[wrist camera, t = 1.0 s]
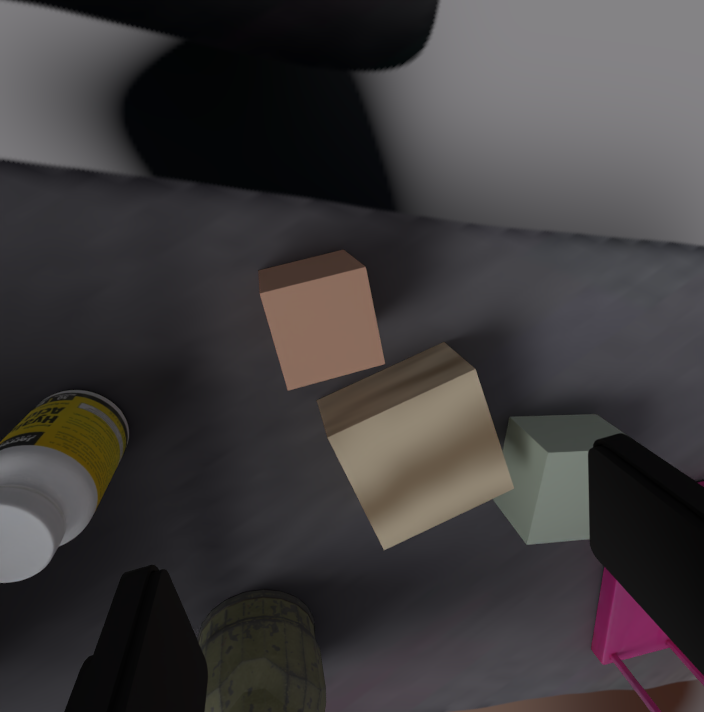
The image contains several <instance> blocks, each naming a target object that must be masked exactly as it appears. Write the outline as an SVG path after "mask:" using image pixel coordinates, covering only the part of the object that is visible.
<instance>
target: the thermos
mask: <svg viewBox="0 0 704 712" xmlns="http://www.w3.org/2000/svg"><path fill="white" fill-rule="evenodd" d="M198 643H199V645H200V647H201V650H202V652H203V654H204V656H205V659H206V662H207V668H208V684H207V694H206V703H205V712H325V707H326V687H325V680H324V673H323V666H322V659H321V652H320V648H319V646H318V644H317V642H316V640H315V626H314V618H313V616H312V614H311V613H310V611H309V609H308V607H307V606H306V605H305V604H304V603H303V602H301V601H300V600H299V599H298V598H297V597H294V596H292V595H289V594H287V593H284V592H281V591H272V590H258V591H251V592H244V593H242V594H239V595H237V596H234V597H232V598H229V599H227V600H225V601H224V602H223V603H221V604H220V605H218V606H217V607H216V608H214V609H213V610H212V611H211V612H210V613H209V615H208V616H207V617H206V619H205V620H204V622H203V623H202V625H201V629H200V632H199V636H198Z"/></svg>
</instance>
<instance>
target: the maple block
mask: <svg viewBox="0 0 704 712" xmlns="http://www.w3.org/2000/svg"><path fill="white" fill-rule="evenodd" d="M317 403H318V407H319V410H320V413H321V417H322V420H323V424H324V427H325V431H326V434H327V438H328V439H329V441H330V443H331V445H332V447H333V449H334V451H335V453H336V455H337V457H338V459H339V461H340V463H341V465H342V467H343V469H344V471H345V473H346V475H347V477H348V479H349V481H350V483H351V485H352V487H353V489H354V491H355V493H356V495H357V497H358V499H359V501H360V503H361V505H362V507H363V509H364V511H365V513H366V515H367V517H368V519H369V521H370V523H371V525H372V527H373V529H374V531H375V533H376V535H377V537H378V539H379V541H380V543H381V545H382V547H383V549H384V550H386V549H388V548H390V547H392V546H394V545H396V544H398V543H401V542H403V541H405V540H407V539H409V538H411V537H413V536H415V535H417V534H420V533H422V532H424V531H426V530H428V529H430V528H432V527H434V526H436V525H439V524H441V523H443V522H445V521H447V520H449V519H451V518H453V517H455V516H458V515H460V514H462V513H464V512H466V511H468V510H470V509H472V508H474V507H476V506H479V505H481V504H483V503H485V502H487V501H489V500H491V499H493V498H495V497H498V496H500V495H502V494H504V493H506V492H508V491H510V490H512V489H514V486H513V483H512V480H511V477H510V474H509V471H508V467H507V464H506V461H505V458H504V455H503V452H502V449H501V446H500V443H499V440H498V437H497V434H496V430H495V427H494V424H493V421H492V418H491V415H490V412H489V409H488V406H487V403H486V400H485V397H484V393H483V390H482V387H481V384H480V381H479V378H478V375H477V372H476V369H475V368H474V367H473V366H472V365H470V364H469V363H468V362H467V361H466V360H464V359H463V358H462V357H461V356H460V355H459V354H457V353H456V352H455V351H454V350H453V349H452V348H450V347H449V346H448V345H447V344H446V343H445V342H443V343H441V344H439V345H436V346H434V347H432V348H430V349H428V350H425V351H423V352H421V353H419V354H417V355H415V356H412V357H410V358H408V359H406V360H404V361H401V362H399V363H397V364H395V365H393V366H391V367H388V368H386V369H384V370H382V371H380V372H378V373H375V374H373V375H371V376H369V377H367V378H364V379H362V380H360V381H358V382H356V383H354V384H351V385H349V386H347V387H345V388H343V389H340V390H338V391H336V392H334V393H332V394H330V395H327V396H325V397H323V398H321V399H319V400H317Z"/></svg>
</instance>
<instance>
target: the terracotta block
mask: <svg viewBox="0 0 704 712" xmlns="http://www.w3.org/2000/svg"><path fill="white" fill-rule="evenodd" d="M258 271H259V289H260V296H261V299H262V303H263V306H264V310H265V313H266V317H267V320H268V324H269V327H270V330H271V334H272V337H273V341H274V344H275V348H276V351H277V355H278V358H279V362H280V365H281V368H282V372H283V375H284V379H285V382H286V386H287V389H288V390H292V389H296V388H299V387H303V386H307V385H310V384H314V383H318V382H321V381H325V380H329V379H332V378H336V377H340V376H343V375H347V374H351V373H354V372H358V371H361V370H365V369H369V368H372V367H376V366H380V365H383V364H385V361H384V356H383V351H382V346H381V341H380V336H379V331H378V326H377V321H376V316H375V311H374V306H373V301H372V296H371V291H370V286H369V281H368V275H367V270H366V267H365V266H364V265H363V264H361V263H360V262H359V261H358V260H356V259H355V258H354V257H352V256H351V255H350V254H349V253H347V252H346V251H345V250H340V251H335V252H331V253H327V254H323V255H319V256H315V257H311V258H307V259H303V260H299V261H295V262H291V263H287V264H283V265H279V266H275V267H270V268H266V269H262V270H258Z"/></svg>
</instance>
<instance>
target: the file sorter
mask: <svg viewBox="0 0 704 712" xmlns="http://www.w3.org/2000/svg"><path fill="white" fill-rule="evenodd" d="M697 483H699V484H700V485H702V486H703V487H704V481H702V482H697ZM669 647H670V648H671V649H672V651H673V652H674V653H675V654H676V655H677V656H678V657H679V659H680V660H681V661H682V662H683V663H684V664H685V665H686V666H687V668H688V669H689V670H690V671H691V672H692V673H693V674H694V675H695V677H696V678H697V679H698V680H699V681H700V682H701V683H702V684H703V685H704V676H703V675H702V673H701V672H700V671H699V670H698V669H697V668H696V667H695V666H694V665H693V664H692V663H691V661H690V660H689V659H688V658H687V657H686V656H685V655H684V654H683V653H682V652H681V650H680V649H679V648H678V647H677V646H676V645H675V644H674V643H673V642H672V641H671V639H670V638H669V637H668V636H667V635H666V634H665V633H664V632H663V631H662V630H661V628H660V627H659V626H658V625H657V624H656V623H655V622H654V621H653V620H652V619H651V617H650V616H649V615H648V614H647V613H646V612H645V611H644V610H643V609H642V608H641V606H640V605H639V604H638V603H637V602H636V601H635V600H634V599H633V598H632V597H631V595H630V594H629V593H628V592H627V591H626V590H625V589H624V588H623V587H622V586H621V585H620V583H619V582H618V581H617V580H616V579H615V578H614V577H613V576H612V575H611V574H610V572H609V571H608V570H607V569H606V568H605V567H604V572H603V578H602V584H601V590H600V596H599V602H598V608H597V615H596V622H595V627H594V634H593V640H592V646H591V650H592V651H593V652H594V654H595V655H596V656H597V658H598V659H599V660H600V662H601V663H602V664H603V665H605V664H609V663H613V662H614V664H615V665H616V666H617V668H618V669H619V670H620V671H621V673H622V674H623V675H624V677H625V678H626V679H627V681H628V682H629V683H630V685H631V686H632V687H633V689H634V690H635V691H636V692H637V694H638V695H639V696H640V698H641V699H642V700H643V702H644V703H645V704H646V706H647V707H648V709H649V710H650V711H651V712H661V711H660V710H659V708H658V707H657V705H656V704H655V703H654V702H653V700H652V699H651V698H650V697H649V695H648V694H647V693H646V691H645V690H644V689H643V688H642V686H641V685H640V684H639V682H638V681H637V680H636V679H635V677H634V676H633V675H632V673H631V672H630V671H629V670H628V668H627V667H626V666H625V664H624V663H623V662H622V661H621V660H624V659H628V658H632V657H635V656H639V655H643V654H646V653H650V652H654V651H658V650H662V649H666V648H669Z"/></svg>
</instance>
